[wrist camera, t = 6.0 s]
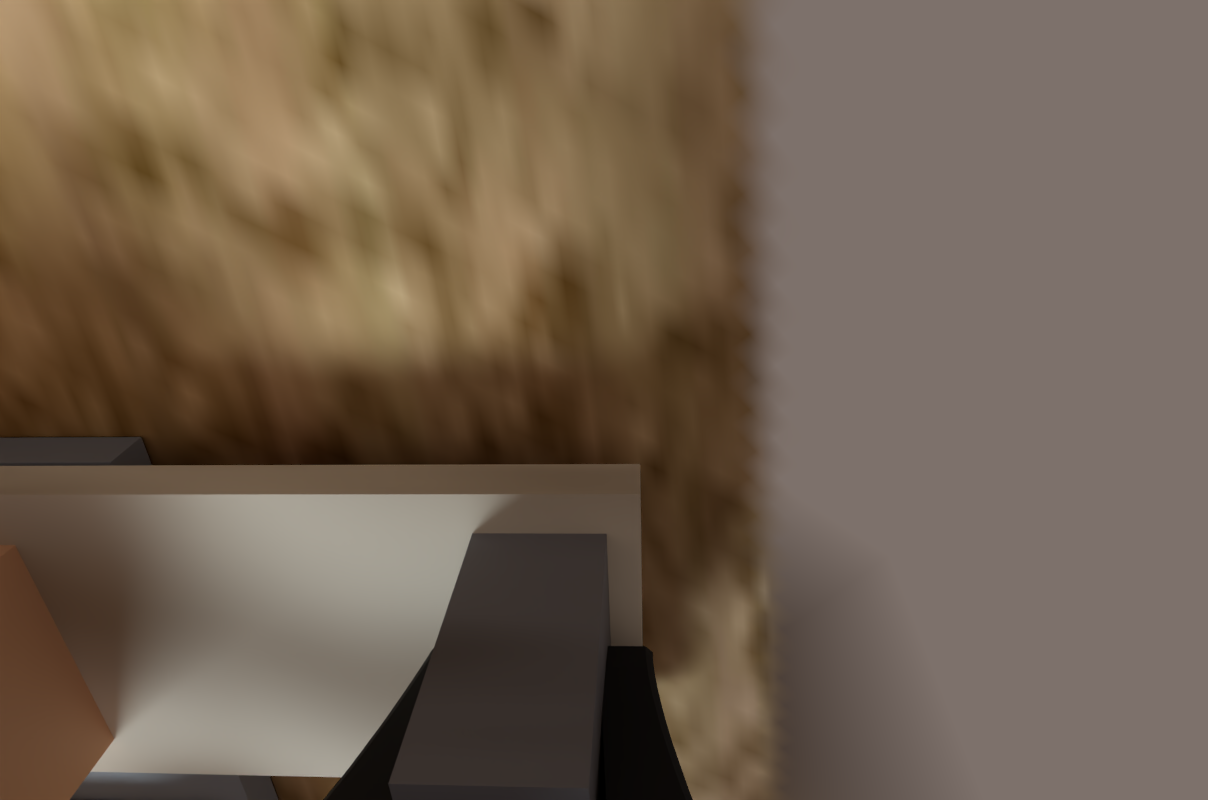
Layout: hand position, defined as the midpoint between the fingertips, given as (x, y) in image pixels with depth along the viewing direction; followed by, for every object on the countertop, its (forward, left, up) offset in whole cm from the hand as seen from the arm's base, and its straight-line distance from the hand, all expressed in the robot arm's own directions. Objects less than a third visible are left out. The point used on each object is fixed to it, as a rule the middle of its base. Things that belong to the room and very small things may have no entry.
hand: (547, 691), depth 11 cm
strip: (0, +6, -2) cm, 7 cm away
